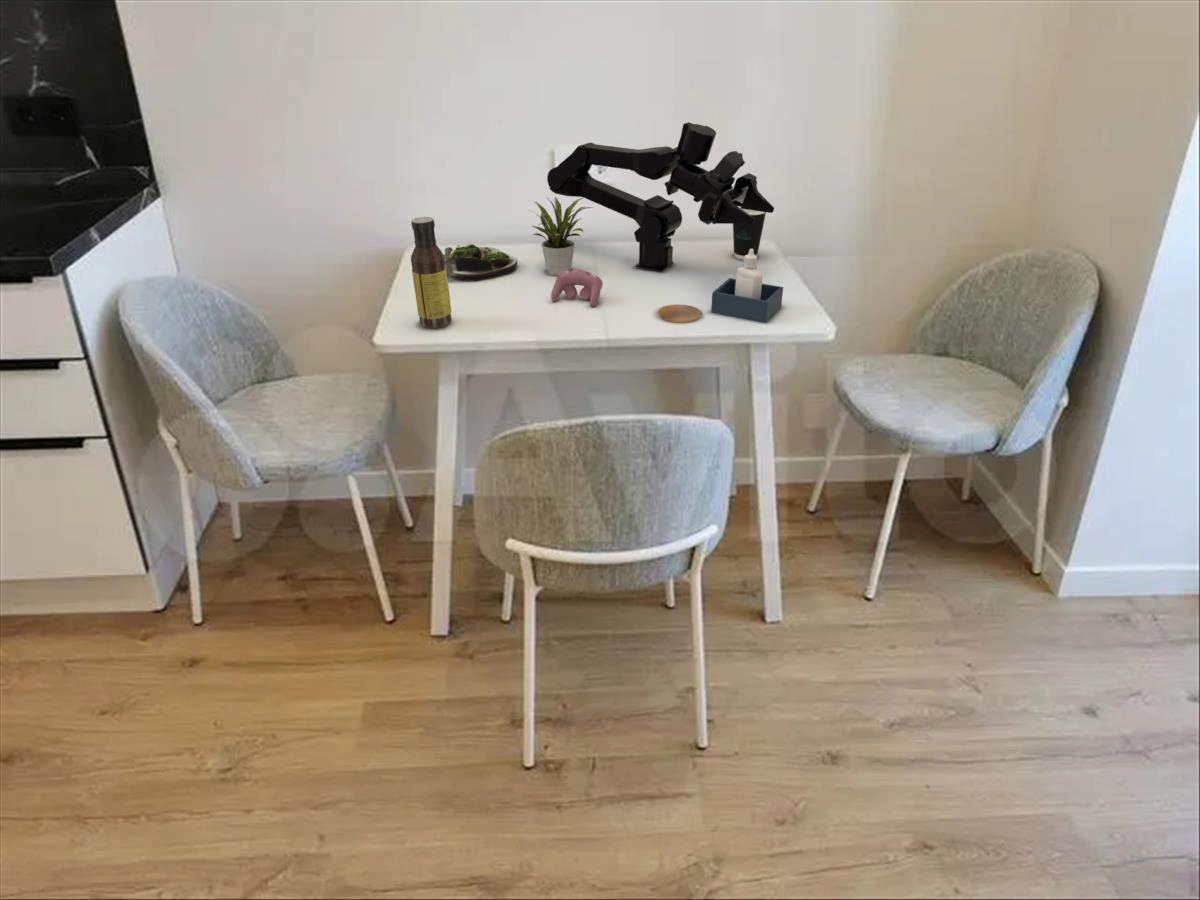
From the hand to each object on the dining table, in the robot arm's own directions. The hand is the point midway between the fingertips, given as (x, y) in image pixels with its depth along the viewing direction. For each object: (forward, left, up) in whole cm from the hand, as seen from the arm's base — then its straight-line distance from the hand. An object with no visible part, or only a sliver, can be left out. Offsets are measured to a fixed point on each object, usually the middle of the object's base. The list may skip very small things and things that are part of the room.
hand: (763, 216), depth 176 cm
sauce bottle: (-48, -47, -15) cm, 69 cm away
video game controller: (-30, -24, -15) cm, 41 cm away
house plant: (-41, -10, -15) cm, 45 cm away
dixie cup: (-9, +18, -15) cm, 25 cm away
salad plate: (-59, -18, -15) cm, 63 cm away
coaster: (-8, -21, -15) cm, 27 cm away
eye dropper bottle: (+2, -13, -15) cm, 20 cm away
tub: (+2, -13, -15) cm, 20 cm away
